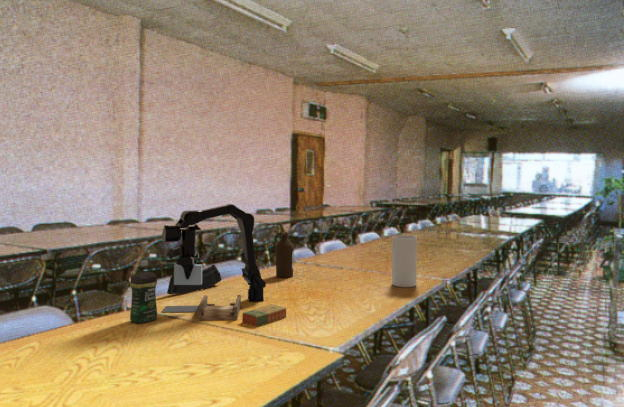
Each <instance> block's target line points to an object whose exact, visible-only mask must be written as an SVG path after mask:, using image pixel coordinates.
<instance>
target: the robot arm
mask: <svg viewBox="0 0 624 407" xmlns="http://www.w3.org/2000/svg"><path fill="white" fill-rule="evenodd" d="M225 215H230V216H231V217H232V218H233V219H235V220H236V223H237V226H238V228H239V231H240V233H241V238H242V245H243V246H242V247H243V253H244V263H245V265H244V268H243V267H242V268H241V272H242V275H241V277H242V278H243V279H244V281H245V282H246V283H247V285H248V286H249V287H248V288H247V299H248V302H264V301H265V300H264V299H265V297H264V289H265V288H266V285H267V282H266V281H265V280H264V278H263V279H262V276H261V271H260V268H259V267H258V265H257V263H256V262H257V261H256V254H255V247H254V246H255V244H254V236H253V231H254V228H255V217H254V215H253V214H252V213H249V212H246V211H244V210H242V209H240V208H239V207H237V206H236V205H235V204H232V203H228V204H224V205H221V206H220V205H219V206H215V207H210V208H206V209H201V210H199V209H198V210H197V209H196V210H184V211H182V212H181V214H180V216H179V217H180V219H178V221H177V222H176V223H175V225H168V224H167V225H166V224H165V225H163V228H162V233H161V238H162V242H163V243H176V242H179V241H180V240H181V243H180V244H179V247H175V248H174V247H172V248H169V249H168V251H166V256H167V257H168V259H169V260H172V259H173V258H176V257H178V256H179V257H178V258H177V259H176V264H177V265H181V266H182V267H183V269H184V273H185V277H186V279H189V278H190V275H191V272H192V270H193V267H194V264H197V262H198V260H199V258H200V253H199V251H196V250H197V249H196V246H197V236H196V235H197V234H196V233H197V231H202V229H201V227H200V226H198V224H199V223H201V222H203V221H204V220H208V219H213V218H217V217H220V216H225ZM195 258H196V259H195Z"/></svg>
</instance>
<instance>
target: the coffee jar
mask: <svg viewBox="0 0 624 407" xmlns="http://www.w3.org/2000/svg"><path fill="white" fill-rule="evenodd" d="M157 277H158V276H157V274H156V272H152V271H146V272H139V273H134V274H131V276H130V281H129V286H130V288H131V304H130V313H129V315H130V316H129V319H130V322H132V323H134V324H145V323H149V322H152V321H155V320H157V318H158V309H157V298H156V288H157V287H156V286H157V285H158V279H157Z"/></svg>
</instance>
